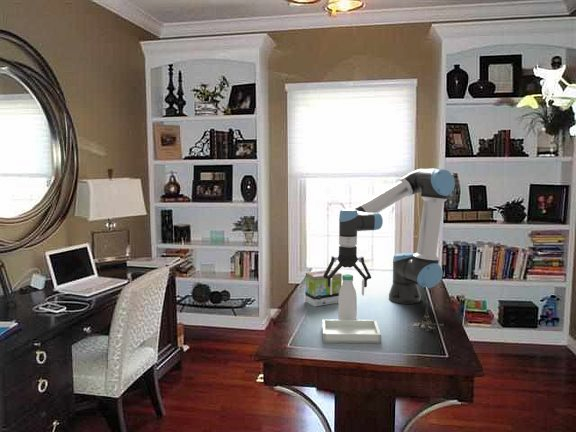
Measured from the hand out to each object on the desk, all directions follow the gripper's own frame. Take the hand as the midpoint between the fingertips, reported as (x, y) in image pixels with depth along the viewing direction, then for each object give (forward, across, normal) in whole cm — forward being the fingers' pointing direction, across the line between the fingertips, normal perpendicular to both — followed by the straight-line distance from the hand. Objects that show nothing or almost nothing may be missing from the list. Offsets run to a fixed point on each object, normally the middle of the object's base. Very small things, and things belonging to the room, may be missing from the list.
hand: (346, 294), depth 205 cm
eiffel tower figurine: (+12, +33, -7) cm, 36 cm away
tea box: (+12, -10, +25) cm, 29 cm away
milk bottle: (+12, 0, 0) cm, 12 cm away
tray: (+12, 0, -17) cm, 21 cm away
